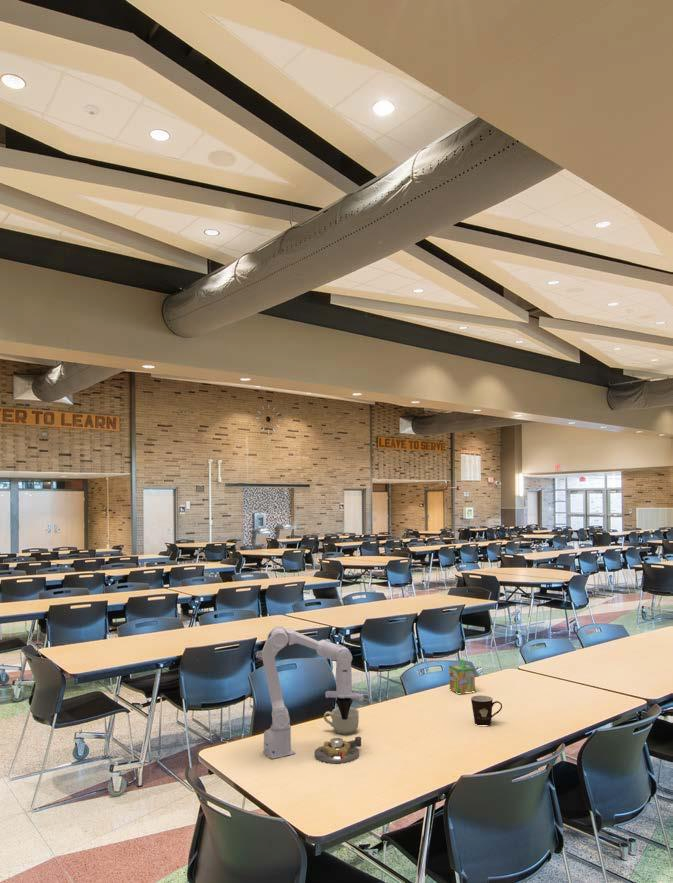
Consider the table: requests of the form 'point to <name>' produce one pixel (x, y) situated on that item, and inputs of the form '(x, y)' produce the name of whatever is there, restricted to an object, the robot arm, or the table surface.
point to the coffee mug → (483, 709)
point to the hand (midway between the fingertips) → (344, 718)
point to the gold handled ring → (345, 748)
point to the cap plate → (334, 759)
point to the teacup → (343, 721)
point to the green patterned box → (462, 678)
